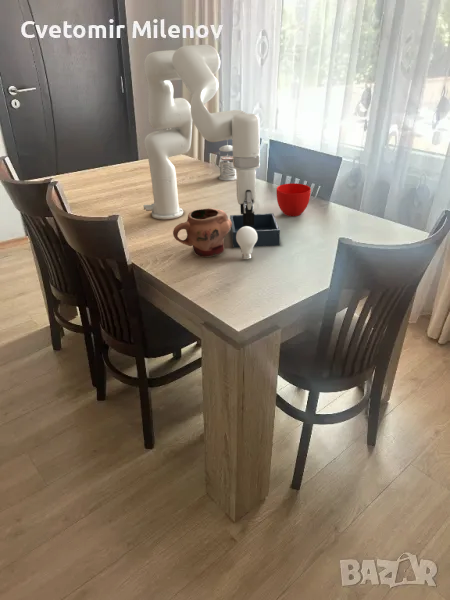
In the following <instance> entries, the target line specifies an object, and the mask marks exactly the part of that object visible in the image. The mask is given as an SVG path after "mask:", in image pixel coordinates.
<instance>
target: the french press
mask: <svg viewBox="0 0 450 600" xmlns="http://www.w3.org/2000/svg"><path fill="white" fill-rule="evenodd" d="M218 150H219V151H217V152H216V153H215V154H214V156H213V163H214V166H217V168H218V169H219V176H218V179H219V180H221V181H236V180H237V178H236V174H237V169H235V168H233V155H229V152H233V145H229V144H228V141H226V145H222V146H220V147H219V148H218ZM221 152H227V155H223V156H221V157H220V160H219V165H217V163H216V160H215V158H216V155H218V154H219V156H220V155H221Z"/></svg>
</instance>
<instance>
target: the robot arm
mask: <svg viewBox="0 0 450 600" xmlns="http://www.w3.org/2000/svg"><path fill="white" fill-rule="evenodd" d="M220 67H221V58H220V55H219V52H218V50H217V49H216V48H215V46H213V45H210V44H191V45H190V44H189V45H182V46H180V47H179V48H177V49H170V50H169V49H167V50H158V51H153V52H150V53H148V54H147V55H146V57H145V59H144V65H143V70H144V75H145V79H146V82H147V100H148V101H147V110H148V112H147V113H148V114H147V115H148V122H149V125H150V127H152V128H153V129H154V130H156V131H152V132H150V133H148V134H146V136H145V137H144V140H143V145H144V150H145V153H146V156H147V160H148V165H149V172H150V178H151V186H152V195H153V196H152V197H153V203H151V204H143V210H145V212H151V216H152V218H153V219H158V220H173V219H177V218H179V217H181V216H183V215H184V210H183V208H182V207H180V206H179V205H180V204H179V193H178V182H177V172H176V167H175V165H174V164H173V163H172V162H171V160H170V158H173V157H177V156H181V155H185V154H188V152H189V151H190V150H191V145H192V133H193V124H194V126H195V129H196V130H197V131H198V132H199V134H200V135H201V137H202V138H203V139H205V140H206V141H207V142H209V143H217V142H223V141H229V140H232V141H231V143H232V144H231V146H233V151H232V156H233V168H235V169H236V178H237V179H236V200H237V203H238V205H240V206H239V207H240V215H243V225H244V226H253V225H254V214H255V211H254V209H255V208H254V205H255V204H256V197H257V196H256V194H257V193H256V192H257V191H256V190H257V175H256V174H257V169H259V168H260V166H261V164H260V163H261V158H260V157H261V153H260V152H261V151H260V150H261V144H260V143H261V139H260V137H261V135H260V134H261V131H260V129H261V125H260V124H261V120H260V117H259V115H257V114H254V113H247V112H246V111H244V110H241V109H232V110H224V111H217V112H210V110H208V108H207V107H206V103H208V102H209V101H211V100H212V99H213V98H214V96H215V95H216V94H217V92H218V90H219V80H218V78H217V77H216V76H215V75H216V74H217V73H218V71H219V70H220ZM180 80H181V81H182V83H183V84H184V86H185V87H186V88H187V90H188V92H189V93H190V96H191V99H190V101H188V100H187V99H186V98H184V97H175V98H174V85H173V83H172V82H171V81H180ZM235 169H234V170H235Z"/></svg>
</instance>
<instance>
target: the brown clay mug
mask: <svg viewBox="0 0 450 600" xmlns="http://www.w3.org/2000/svg"><path fill="white" fill-rule="evenodd" d="M231 226H232V222H231V220H230V218H229V217H228V214H227V213H226V212H225V211H224V210H222V209H217V208H212V207H211V208H210V207H209V208H199V209H194V210H192V211H190V212H189V213H188V214H187V219H186V221H184V222H180V223H179V224H177V225H175V227H174V228H173V230H172V235H173V238H174V240H176V241H178V242H179V243H181V244H182V245H186V246H188V247H192V249H193V253H194V254H195V255H197V256H198V257H202V258H209V257H215V256H218V255H220V254H222V253H223V252H224V251H225V243H224V240H225V238H226V236H227V235H228V233H229V232H230V231H231ZM183 230H185V231H186V237H185V239H181V238H179V236H178V235H179V232H180V231H183Z"/></svg>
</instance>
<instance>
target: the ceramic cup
mask: <svg viewBox="0 0 450 600" xmlns="http://www.w3.org/2000/svg"><path fill="white" fill-rule="evenodd" d="M311 192H312V188H311V187H310V186H309V185H307V184H304V183H296V182H295V183H294V182H293V183H284V184H280V185H278V186H277V187H276V202H277V205H278V207H279V209H280V211H281V212H282V213H283V214H284V215H285V216H287V217H298V216H301V215H302V213H303V212H304V211H305V210H306V209H307V208H308V206H309V202H310V199H311V194H312V193H311Z"/></svg>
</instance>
